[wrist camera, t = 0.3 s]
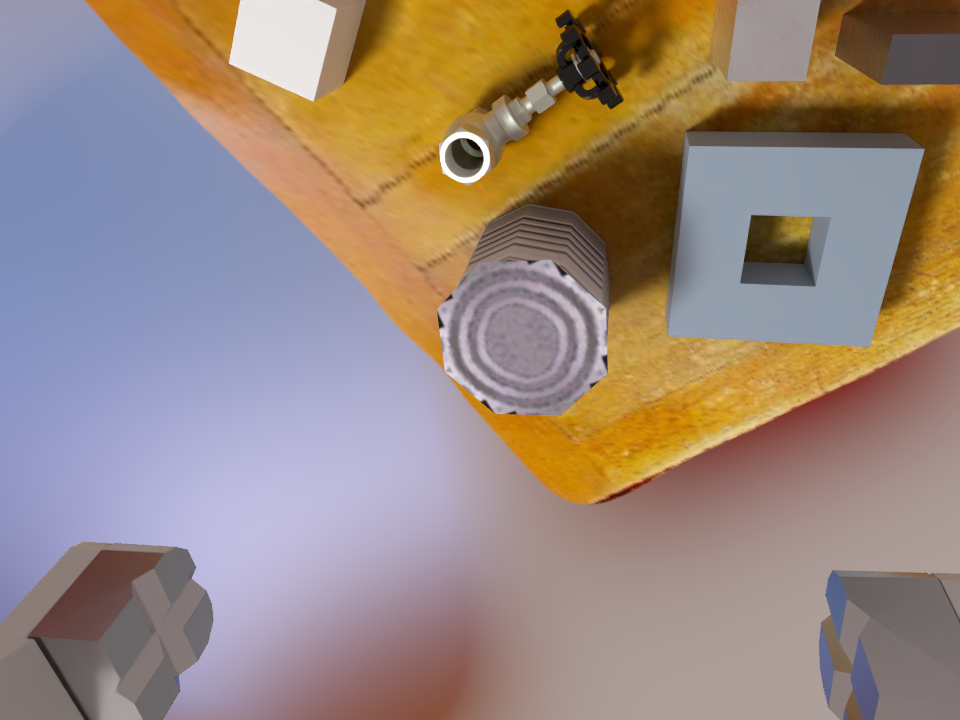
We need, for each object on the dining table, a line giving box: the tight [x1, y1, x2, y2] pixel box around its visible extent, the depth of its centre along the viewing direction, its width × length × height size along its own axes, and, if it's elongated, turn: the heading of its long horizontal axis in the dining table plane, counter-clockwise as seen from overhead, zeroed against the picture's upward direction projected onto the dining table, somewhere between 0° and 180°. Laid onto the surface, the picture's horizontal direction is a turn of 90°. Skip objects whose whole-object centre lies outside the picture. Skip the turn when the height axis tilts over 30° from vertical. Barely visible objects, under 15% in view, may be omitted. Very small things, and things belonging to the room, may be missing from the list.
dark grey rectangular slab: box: [835, 12, 960, 85], centre depth 41 cm, size 2×6×10 cm, turn 92°
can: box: [437, 203, 610, 415], centre depth 52 cm, size 11×11×12 cm
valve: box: [439, 10, 624, 185], centre depth 48 cm, size 7×7×12 cm
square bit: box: [710, 0, 821, 81], centre depth 42 cm, size 4×4×10 cm
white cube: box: [229, 0, 366, 102], centre depth 48 cm, size 6×6×6 cm
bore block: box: [666, 131, 925, 347], centre depth 51 cm, size 14×14×4 cm
